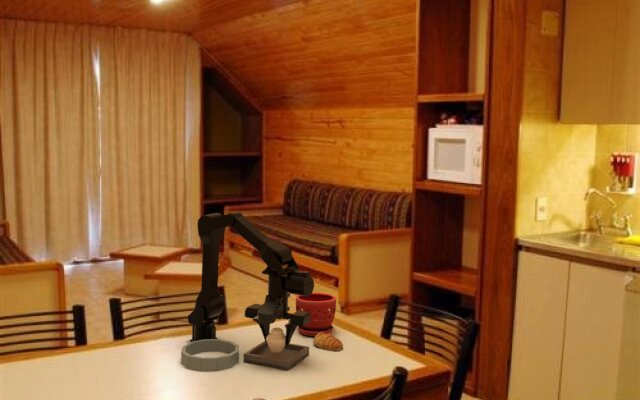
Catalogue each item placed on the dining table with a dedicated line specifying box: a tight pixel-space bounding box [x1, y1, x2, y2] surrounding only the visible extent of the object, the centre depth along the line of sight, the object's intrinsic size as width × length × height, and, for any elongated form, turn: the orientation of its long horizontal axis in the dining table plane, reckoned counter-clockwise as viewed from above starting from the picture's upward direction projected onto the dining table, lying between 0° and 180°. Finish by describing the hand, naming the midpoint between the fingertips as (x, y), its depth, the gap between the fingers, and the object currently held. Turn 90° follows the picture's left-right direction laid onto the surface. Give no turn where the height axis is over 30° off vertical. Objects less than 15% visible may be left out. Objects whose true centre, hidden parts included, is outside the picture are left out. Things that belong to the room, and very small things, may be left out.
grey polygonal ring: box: [180, 338, 240, 372], centre depth 187 cm, size 16×16×4 cm
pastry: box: [312, 332, 344, 352], centre depth 201 cm, size 9×7×4 cm
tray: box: [243, 340, 310, 372], centre depth 190 cm, size 14×14×2 cm
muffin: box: [266, 327, 286, 353], centre depth 189 cm, size 6×6×7 cm
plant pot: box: [295, 292, 337, 337], centre depth 214 cm, size 13×13×12 cm
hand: (276, 343), depth 190 cm, fingers closed on muffin, 6 cm apart
